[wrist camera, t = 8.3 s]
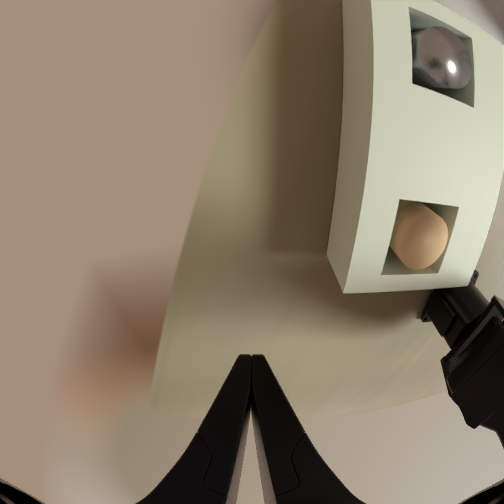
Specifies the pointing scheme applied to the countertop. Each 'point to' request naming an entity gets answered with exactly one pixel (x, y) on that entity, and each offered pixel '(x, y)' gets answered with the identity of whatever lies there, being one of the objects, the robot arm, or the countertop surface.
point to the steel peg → (439, 59)
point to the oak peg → (418, 235)
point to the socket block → (413, 147)
